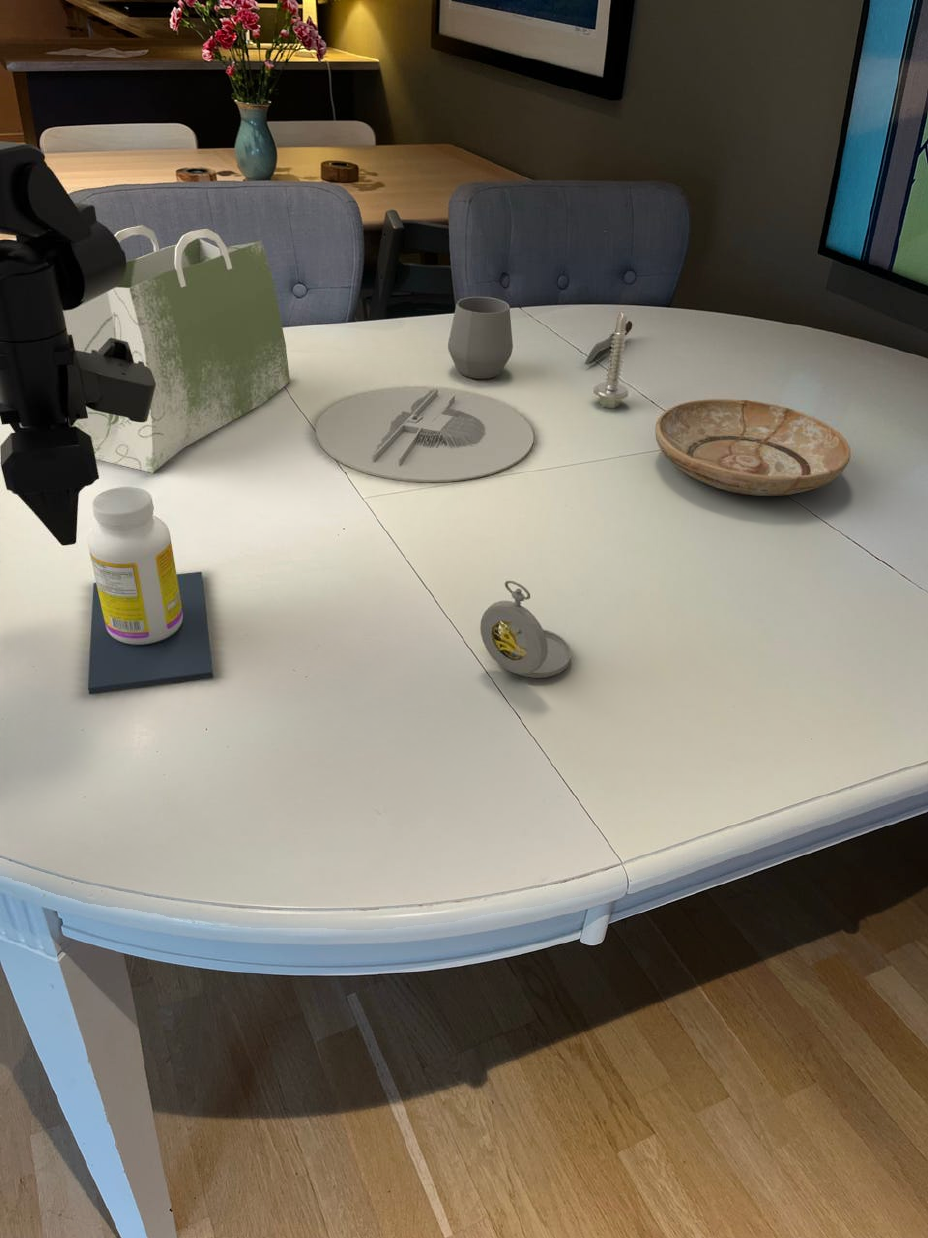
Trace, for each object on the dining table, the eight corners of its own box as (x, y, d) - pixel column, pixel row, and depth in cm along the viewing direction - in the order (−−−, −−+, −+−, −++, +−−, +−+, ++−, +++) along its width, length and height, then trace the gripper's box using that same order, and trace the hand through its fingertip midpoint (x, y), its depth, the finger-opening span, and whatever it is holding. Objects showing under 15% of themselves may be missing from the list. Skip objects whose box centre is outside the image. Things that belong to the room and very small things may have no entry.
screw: (625, 413, 132) (590, 409, 132) (627, 399, 135) (593, 395, 136) (640, 319, 124) (603, 315, 125) (641, 308, 128) (605, 304, 128)
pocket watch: (570, 640, 88) (583, 547, 82) (569, 698, 81) (583, 602, 76) (482, 631, 89) (489, 538, 83) (474, 689, 82) (480, 592, 76)
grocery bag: (210, 364, 138) (191, 193, 125) (294, 382, 135) (284, 207, 121) (57, 451, 114) (13, 250, 100) (155, 475, 110) (123, 269, 97)
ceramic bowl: (862, 463, 122) (873, 427, 119) (806, 538, 106) (818, 498, 103) (692, 415, 132) (699, 381, 129) (618, 477, 116) (624, 439, 113)
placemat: (213, 677, 81) (212, 671, 81) (88, 693, 79) (87, 688, 78) (202, 576, 94) (201, 571, 93) (94, 587, 91) (93, 582, 91)
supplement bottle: (168, 597, 90) (149, 474, 82) (195, 633, 85) (177, 507, 78) (96, 618, 86) (69, 491, 79) (119, 657, 82) (93, 527, 74)
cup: (464, 356, 146) (468, 290, 140) (520, 369, 143) (526, 302, 137) (436, 376, 139) (438, 307, 133) (494, 389, 136) (499, 319, 130)
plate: (370, 376, 138) (370, 368, 137) (557, 411, 131) (558, 402, 130) (276, 454, 116) (275, 445, 115) (494, 500, 109) (495, 491, 108)
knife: (587, 371, 144) (590, 352, 142) (578, 369, 144) (580, 350, 142) (633, 338, 157) (636, 320, 155) (624, 336, 157) (627, 318, 156)
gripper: (155, 364, 66) (182, 558, 75) (125, 285, 79) (151, 457, 88) (-22, 379, 62) (29, 581, 71) (-21, 294, 76) (21, 472, 85)
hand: (65, 516), depth 79 cm, fingers open, 9 cm apart
